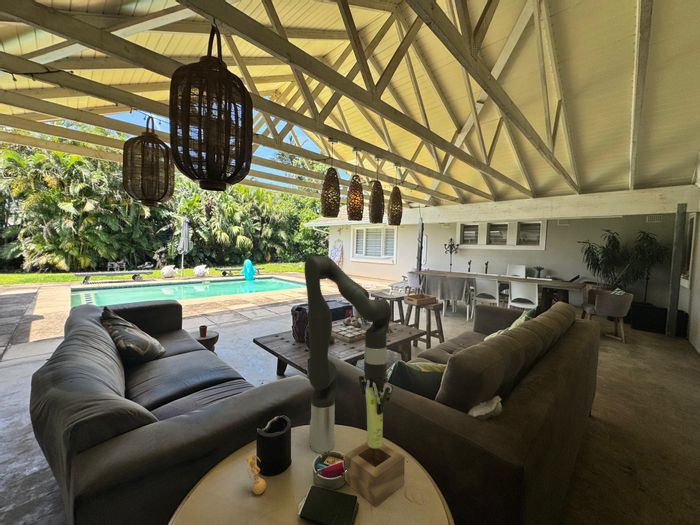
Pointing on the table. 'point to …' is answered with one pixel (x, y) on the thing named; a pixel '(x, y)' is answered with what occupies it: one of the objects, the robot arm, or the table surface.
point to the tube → (373, 420)
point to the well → (374, 472)
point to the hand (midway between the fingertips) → (374, 411)
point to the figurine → (259, 483)
